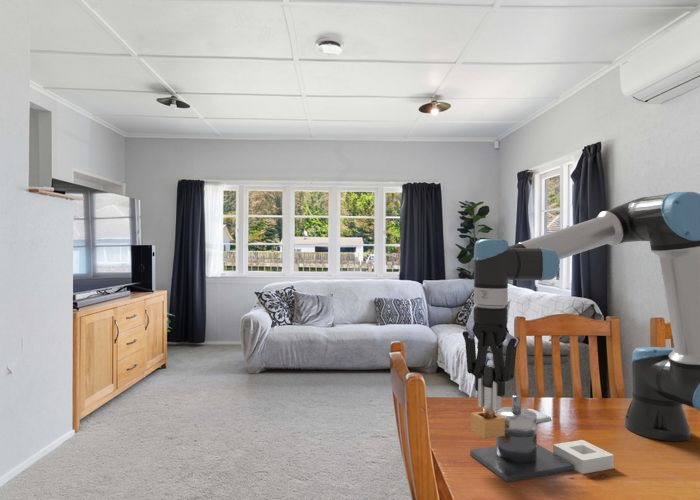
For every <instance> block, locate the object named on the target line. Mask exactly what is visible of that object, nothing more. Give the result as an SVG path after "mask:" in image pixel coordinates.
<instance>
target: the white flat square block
mask: <svg viewBox="0 0 700 500" xmlns="http://www.w3.org/2000/svg"><path fill="white" fill-rule="evenodd" d="M552 453H554V454H556V455H557V456H559V457H561V458H563V459H564V460H566V461H568V462H570V463H572V464H573V465H574V471H576V472H579V473H581V474H582V475H584V474H591V473H595V472H600V471H605V470H607V471H608V470H611V469H615V464H614V463H615V455H614V454H613V453H611V452H609V451H606V450H604V449H602V448H600V447H598V446H596V445H594V444H592V443H590V442H588V441H586V440H584V439H579V440H573V441H566V442H565V441H564V442H560V443H554V444H552Z"/></svg>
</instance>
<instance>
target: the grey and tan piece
mask: <svg viewBox="0 0 700 500" xmlns="http://www.w3.org/2000/svg"><path fill="white" fill-rule="evenodd" d="M528 409H529V408H524V407H523V408H522V396H521V395H518V394H512V396H511V406H503V407H502V406H501V409H500V410H498V411H496V412H495V418H488V419H485V418H484V417H483V410H482V411H476V412H474V411H473V412H471V413H470V430H471V431H472V432H473V433H475V434H477V435H478V436H480V437H481V438H483V439H491V438H492V439H493V438H496V437H499V436H505V433H506V434H509V435H514V436H532V435H534V434H536V433H537V434H538V432H537V431H538V430H537V429H538V428H537V427H538V423H537V415H536V413H534V412H533V411H530V410H528Z"/></svg>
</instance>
